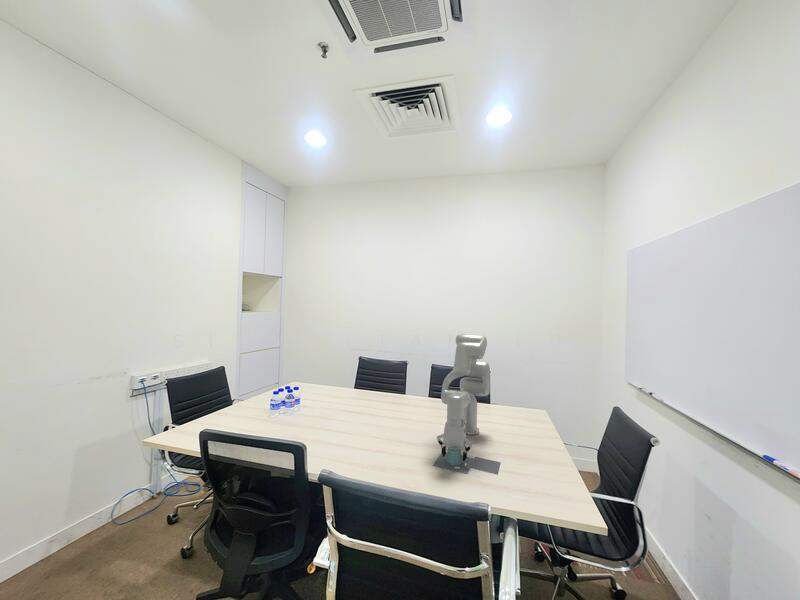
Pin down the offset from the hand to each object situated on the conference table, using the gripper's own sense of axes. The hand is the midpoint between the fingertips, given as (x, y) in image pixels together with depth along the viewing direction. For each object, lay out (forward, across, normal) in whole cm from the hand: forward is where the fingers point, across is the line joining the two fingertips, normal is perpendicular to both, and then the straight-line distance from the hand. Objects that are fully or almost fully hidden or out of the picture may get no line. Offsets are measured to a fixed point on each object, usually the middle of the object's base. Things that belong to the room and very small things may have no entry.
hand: (454, 457), depth 147 cm
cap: (+2, 0, 0) cm, 2 cm away
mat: (+2, -14, -4) cm, 15 cm away
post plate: (+2, 0, 0) cm, 2 cm away
